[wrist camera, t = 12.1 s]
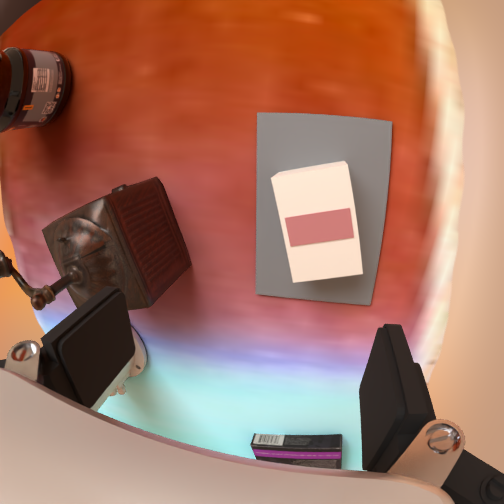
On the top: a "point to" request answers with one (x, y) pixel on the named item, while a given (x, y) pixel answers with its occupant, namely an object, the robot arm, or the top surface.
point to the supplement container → (32, 87)
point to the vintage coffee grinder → (113, 248)
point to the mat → (363, 187)
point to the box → (299, 449)
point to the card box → (318, 221)
